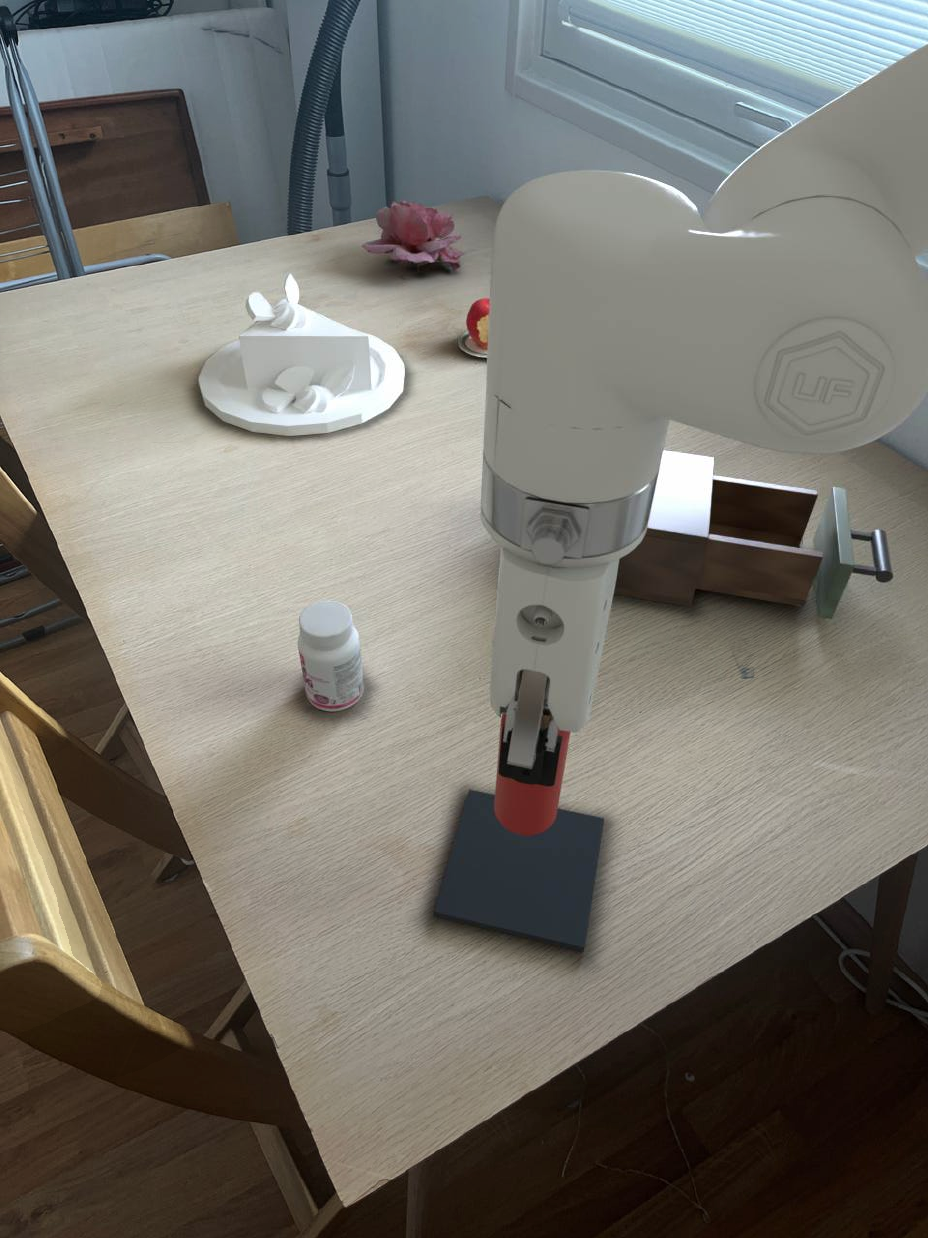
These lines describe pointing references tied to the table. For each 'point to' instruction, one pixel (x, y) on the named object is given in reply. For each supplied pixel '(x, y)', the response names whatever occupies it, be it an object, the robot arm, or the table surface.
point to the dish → (299, 372)
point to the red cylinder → (529, 795)
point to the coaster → (522, 875)
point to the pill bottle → (330, 656)
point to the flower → (415, 235)
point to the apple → (476, 329)
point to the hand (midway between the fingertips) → (534, 743)
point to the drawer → (783, 545)
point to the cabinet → (672, 534)
